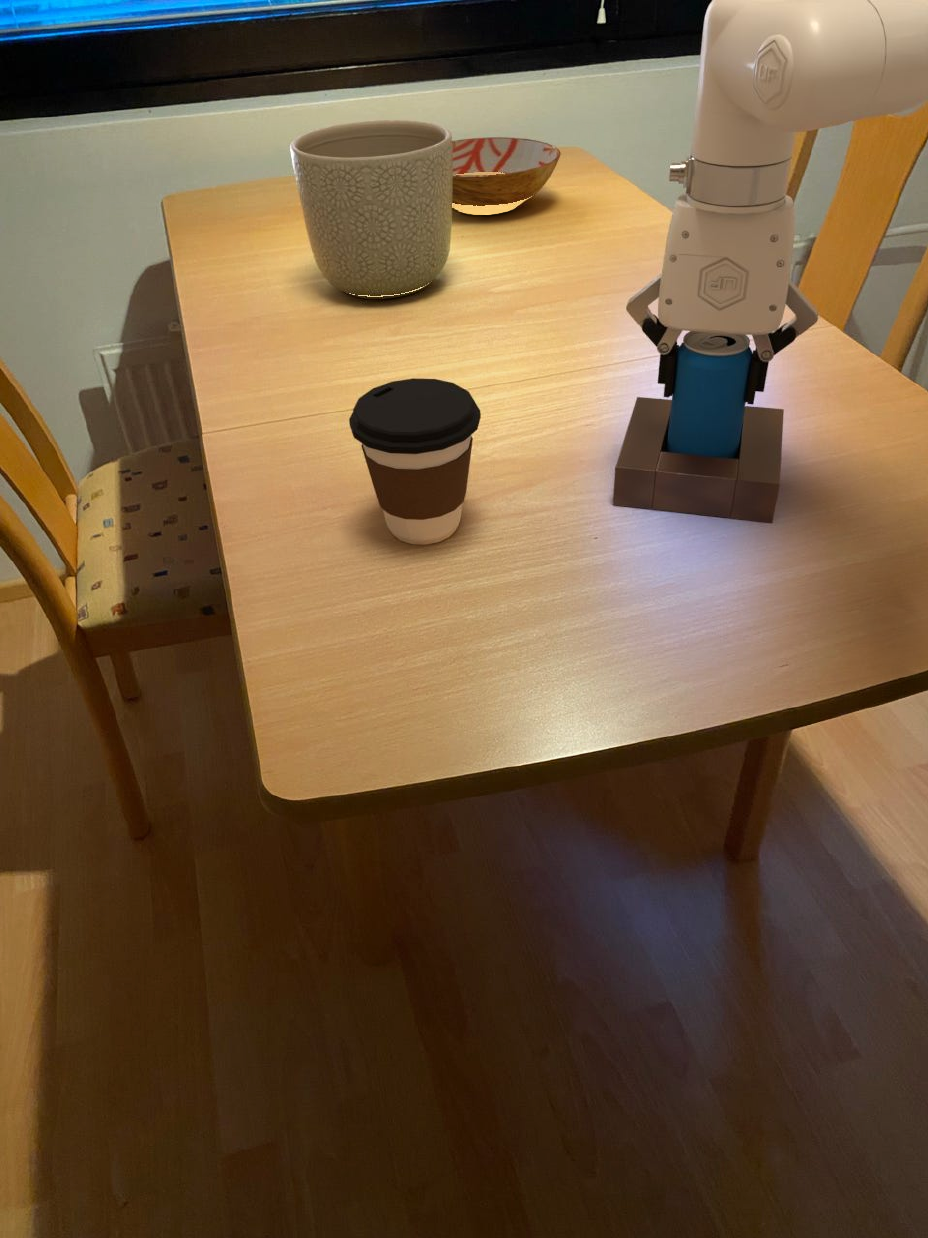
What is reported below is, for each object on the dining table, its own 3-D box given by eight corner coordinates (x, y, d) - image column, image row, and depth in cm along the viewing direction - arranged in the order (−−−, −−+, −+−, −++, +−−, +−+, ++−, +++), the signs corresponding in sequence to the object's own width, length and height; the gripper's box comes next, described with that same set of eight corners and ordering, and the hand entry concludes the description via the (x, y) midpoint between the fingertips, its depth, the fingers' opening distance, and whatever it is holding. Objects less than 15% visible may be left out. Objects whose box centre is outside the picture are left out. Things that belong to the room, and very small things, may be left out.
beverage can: (750, 464, 87) (771, 341, 79) (700, 487, 84) (717, 361, 77) (700, 438, 91) (715, 318, 84) (651, 459, 89) (662, 337, 81)
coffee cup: (338, 531, 84) (319, 410, 76) (422, 481, 90) (412, 364, 82) (426, 576, 78) (415, 450, 70) (509, 519, 84) (507, 397, 76)
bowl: (589, 208, 155) (591, 156, 150) (459, 239, 146) (456, 185, 141) (509, 177, 172) (508, 129, 167) (388, 202, 163) (383, 153, 158)
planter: (302, 271, 138) (280, 129, 126) (437, 252, 141) (428, 113, 129) (325, 322, 122) (302, 166, 110) (476, 299, 126) (471, 145, 114)
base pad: (776, 445, 92) (783, 408, 90) (772, 523, 82) (779, 483, 79) (634, 432, 96) (637, 396, 93) (612, 505, 85) (615, 466, 83)
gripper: (618, 190, 71) (606, 404, 83) (857, 197, 67) (810, 422, 79) (632, 165, 77) (619, 369, 88) (854, 170, 73) (810, 383, 84)
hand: (709, 392), depth 83 cm, fingers closed on beverage can, 6 cm apart
